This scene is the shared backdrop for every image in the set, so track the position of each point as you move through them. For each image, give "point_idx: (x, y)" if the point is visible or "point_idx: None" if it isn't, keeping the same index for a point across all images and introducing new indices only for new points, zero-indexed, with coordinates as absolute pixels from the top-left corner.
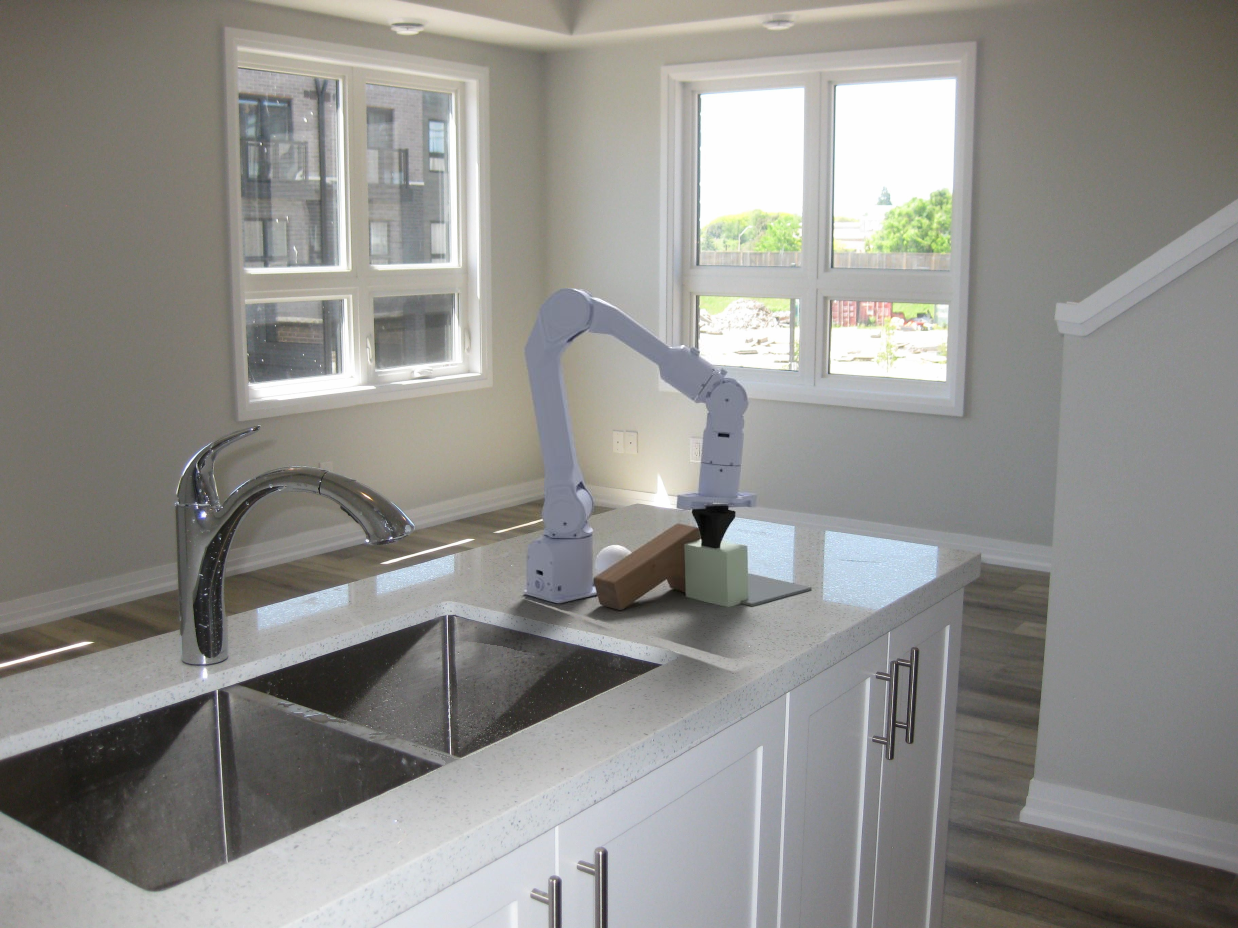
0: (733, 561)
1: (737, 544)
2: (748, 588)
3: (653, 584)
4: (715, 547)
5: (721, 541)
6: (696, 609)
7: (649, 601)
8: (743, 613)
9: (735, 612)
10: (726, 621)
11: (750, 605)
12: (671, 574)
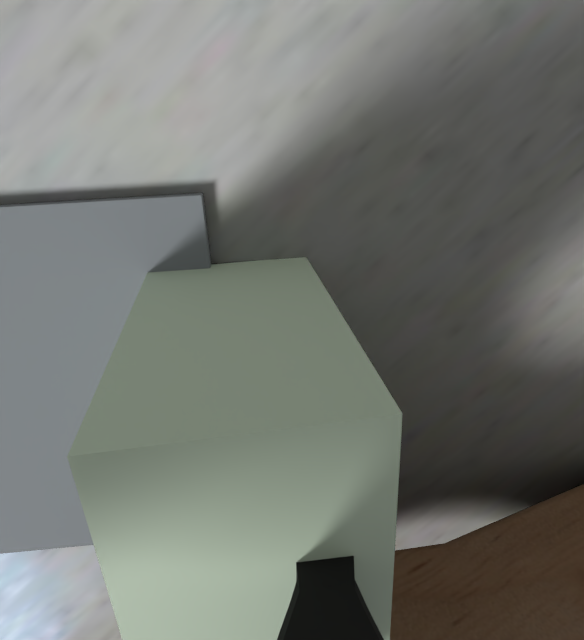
0: (286, 369)
1: (105, 548)
2: (14, 403)
3: (536, 521)
4: (353, 566)
5: (294, 608)
6: (440, 314)
7: (469, 492)
8: (337, 120)
9: (353, 163)
10: (522, 66)
11: (203, 200)
12: (433, 554)
